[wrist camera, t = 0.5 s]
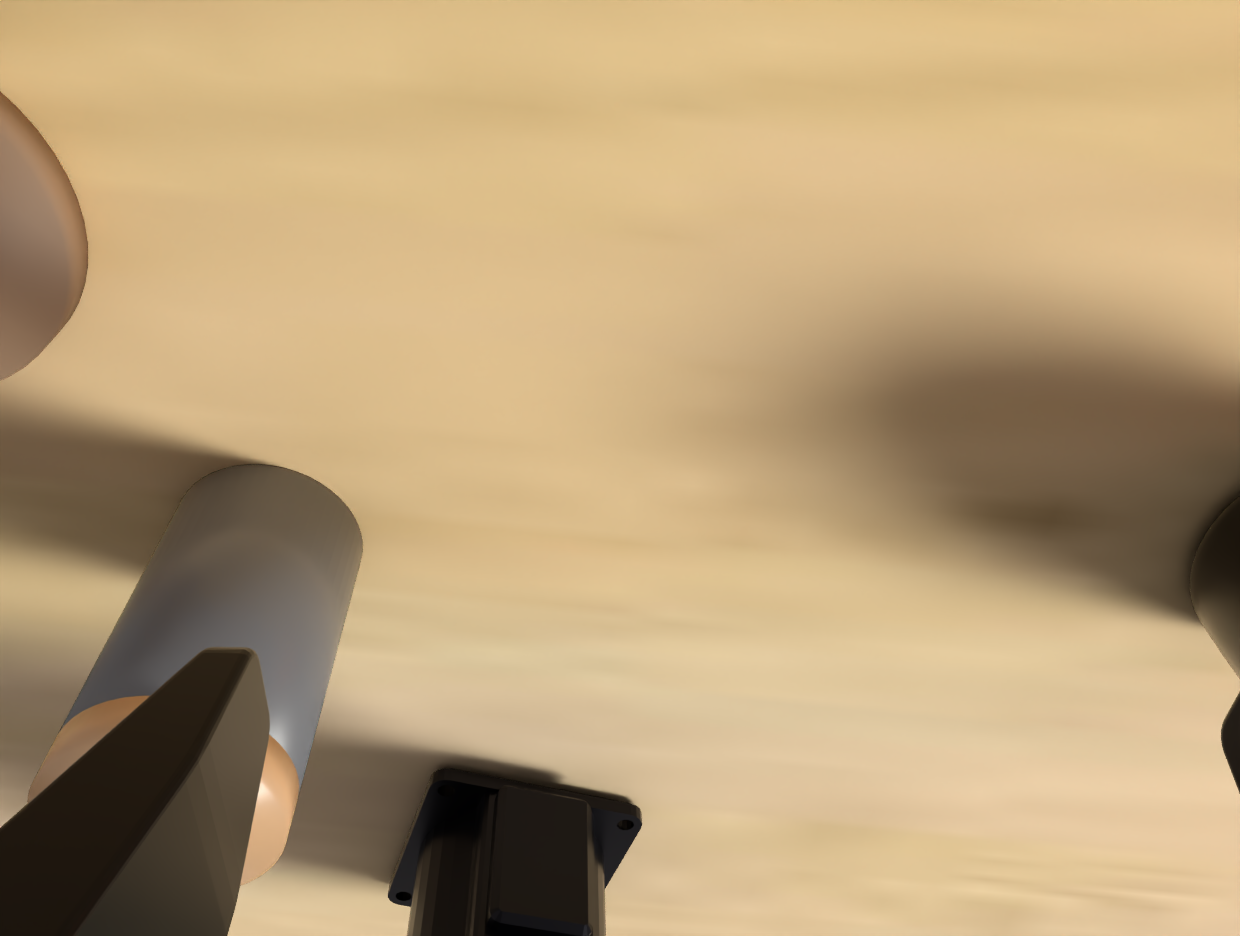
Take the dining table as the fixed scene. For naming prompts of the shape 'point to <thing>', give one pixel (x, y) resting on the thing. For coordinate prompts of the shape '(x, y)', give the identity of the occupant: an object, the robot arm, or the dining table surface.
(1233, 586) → the supplement bottle
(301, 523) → the grey capped cylinder
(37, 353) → the door knob
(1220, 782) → the dining table surface
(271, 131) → the dining table surface
